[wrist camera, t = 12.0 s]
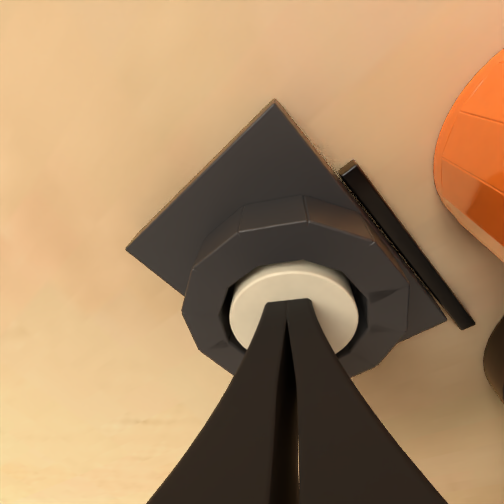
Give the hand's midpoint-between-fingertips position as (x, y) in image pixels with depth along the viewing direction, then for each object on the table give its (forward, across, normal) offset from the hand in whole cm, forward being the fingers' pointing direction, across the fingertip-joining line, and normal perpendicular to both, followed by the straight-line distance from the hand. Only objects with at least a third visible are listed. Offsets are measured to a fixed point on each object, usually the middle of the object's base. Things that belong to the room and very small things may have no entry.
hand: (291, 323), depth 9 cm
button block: (+3, 0, 0) cm, 3 cm away
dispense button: (+2, 0, 0) cm, 2 cm away
